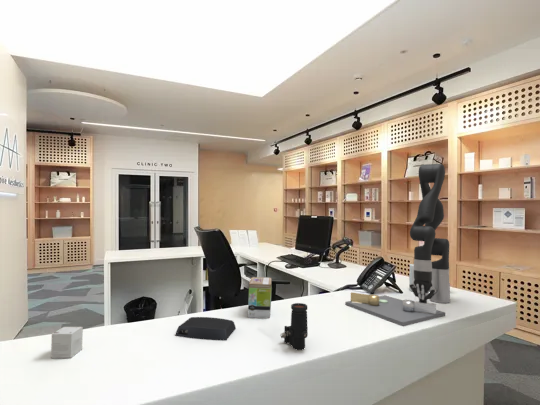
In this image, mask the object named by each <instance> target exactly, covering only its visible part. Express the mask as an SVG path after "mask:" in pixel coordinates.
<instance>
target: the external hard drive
mask: <svg viewBox="0 0 540 405" xmlns="http://www.w3.org/2000/svg"><path fill="white" fill-rule="evenodd" d="M236 329H237V328H236V324H235V322H234V320H231V319H226V318H219V317H211V316H210V317H209V316H208V317H207V316H192V317H189V318H188V319H186V320H185V321H184V322H183V323H181V324H180V325H178V327H177V330H176V331H175V334H174V335H175V336H176V337H179V338H187V339H194V340H195V339H198V340H207V341H222V342H223V341H225V342H226V341H227V340H228V339H229V338H230V337H231V336H232V334H233V333H234V331H235V330H236Z"/></svg>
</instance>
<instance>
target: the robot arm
mask: <svg viewBox="0 0 540 405" xmlns="http://www.w3.org/2000/svg"><path fill="white" fill-rule="evenodd" d="M445 176H446V168H445V166H444V165H443V163H427V164H425V163H424V164H421V165H420V166H419V167H418V179H419V180H418V181H419V186H420V191H421V197H422V199H421V201H420V203H419V205H418V209H417V215H416V218H415V220H414V221H413V223H412V225H411V228H409V237H410V238H411V239H412V241H415V242H417V241H418V242H424V243H423V245H418V246H417V245H416V246H415V247H414V249H413V251H414V254H413V255H414V256H413V259H414V260H413V264H414V279H415V280H414V283H413V284H411V285H409V286H410V288H411V290H412V291H413V292H412V291H411V292H412V293H413V294H414V296H415V297H417V298H418V302H424V303H428V300H430V301H431V302H433V303H434V302H435V303H440V304H449V303H450V302H451V284H450V241H449V239H448V238H443V237H442V238H440V237H439V238H438V237H436V230H437V229H438V227H439V226H440V225H441V223H442V222H443V220H444V218H445V213H444V204H443V202H442V201H441V200H440V198H439V196H440V193H441V190H442V187H443V184H444V181H445ZM432 183H433V186H432V188H431V185H430V184H432ZM432 256H438V257H439V256H441V258H440V259H438V260H434V261H432ZM429 290H430V293H429Z"/></svg>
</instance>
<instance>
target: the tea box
mask: <svg viewBox="0 0 540 405" xmlns="http://www.w3.org/2000/svg"><path fill="white" fill-rule="evenodd" d="M272 282H273V281H272V277H260V276H258V277H257V276H255V277H251V278H250V280H249V282H248V283H249V284H248V301H247V303H248V304H247V306H248V307H247V318H249V319H251V318H252V319H255V318H256V319H270V318H271V309H272V308H271V306H272Z"/></svg>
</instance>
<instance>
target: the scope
mask: <svg viewBox="0 0 540 405" xmlns="http://www.w3.org/2000/svg"><path fill="white" fill-rule="evenodd" d="M290 308H291V313H290V314H291V315H290V325H284V328H283V330H284V331H283V332H281V335H280V338H281V339H284V340H283V342H284V343H285V345H286V344H287V343H288V344H289V345H290V346H291V345H292V346H291V347H292V349H293V350H296V349H297V350H296V351H303V350H305V349H304V348H306V339H307V338H308V335H309V334H308V311H307V310H308V304H306V303H304V302H303V303H302V302H295V303H292V304H291V305H290ZM288 344H287V345H288ZM302 349H303V350H302Z"/></svg>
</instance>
